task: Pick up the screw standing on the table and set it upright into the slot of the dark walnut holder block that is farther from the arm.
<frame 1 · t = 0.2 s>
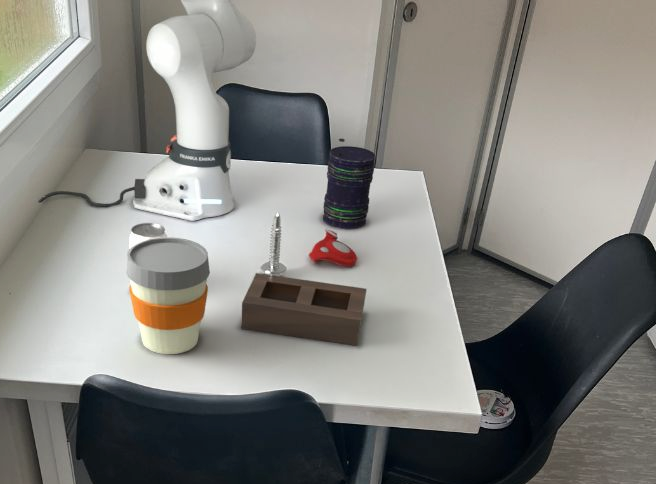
reusable coffee cup: (170, 340, 118), on the table
tracker holder: (333, 257, 147), on the table
dark blue cylinder: (344, 221, 162), on the table
holder: (303, 320, 125), on the table
can: (150, 293, 130), on the table
screw: (273, 279, 137), on the table
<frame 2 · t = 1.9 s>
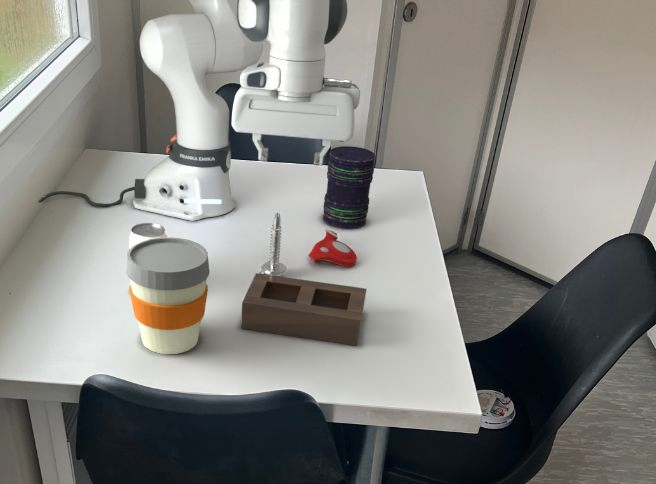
hand: (290, 162, 124), 22 cm above the table, tool pointing down, fingers open, 8 cm apart
nothing on the table moved.
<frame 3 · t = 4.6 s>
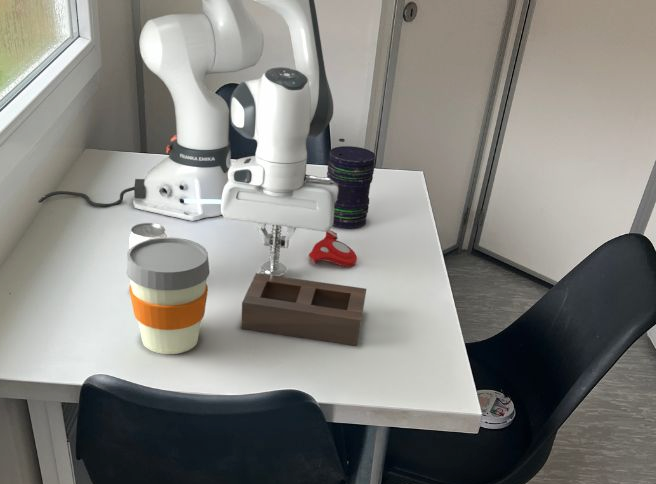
hand: (275, 245, 133), 7 cm above the table, tool pointing down, fingers closed on screw, 2 cm apart
screw: (273, 279, 137), on the table, touching gripper
everything else where it was.
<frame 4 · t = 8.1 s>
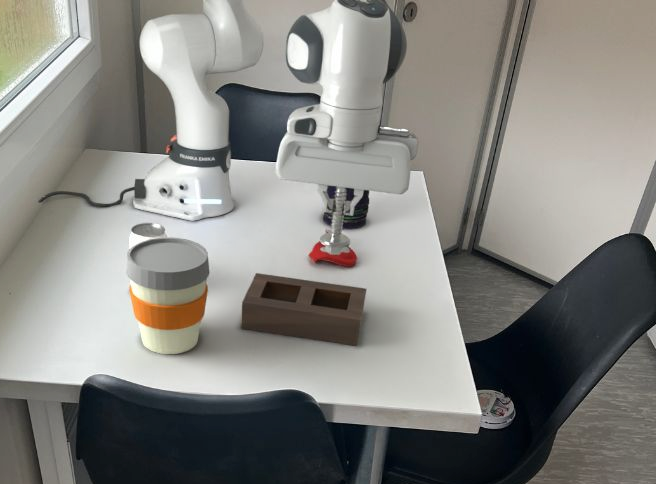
hand: (338, 212, 114), 20 cm above the table, tool pointing down, fingers closed on screw
screw: (333, 252, 117), point 13 cm above the table, touching gripper
everything else where it was.
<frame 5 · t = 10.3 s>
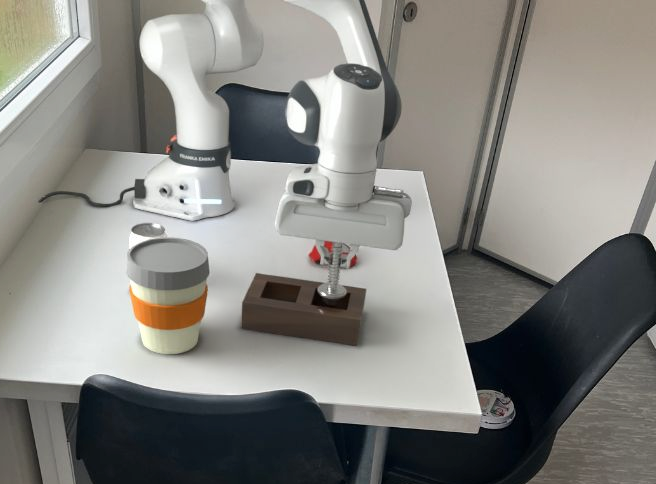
hand: (334, 265, 118), 11 cm above the table, tool pointing down, fingers closed on screw
screw: (330, 302, 122), point 4 cm above the table, touching gripper
everything else where it was.
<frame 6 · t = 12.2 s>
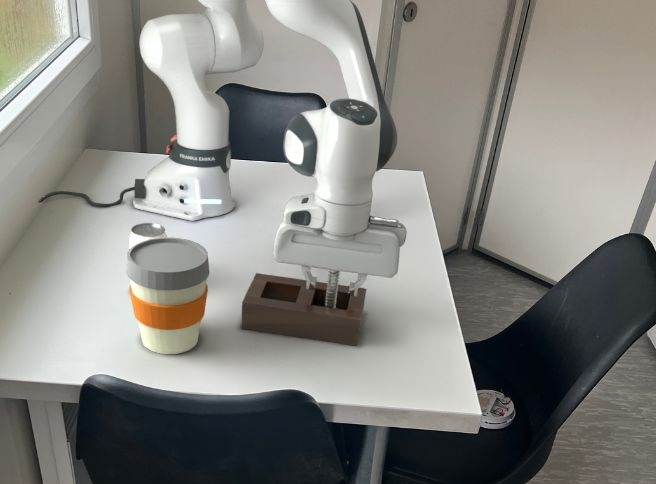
hand: (331, 291, 121), 6 cm above the table, tool pointing down, fingers open, 6 cm apart
screw: (327, 325, 125), resting in holder
everything else where it was.
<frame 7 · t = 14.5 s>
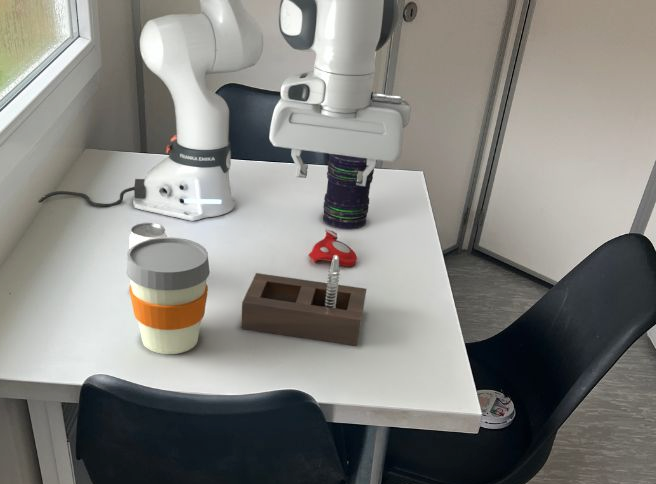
hand: (331, 180, 115), 24 cm above the table, tool pointing down, fingers open, 8 cm apart
nothing on the table moved.
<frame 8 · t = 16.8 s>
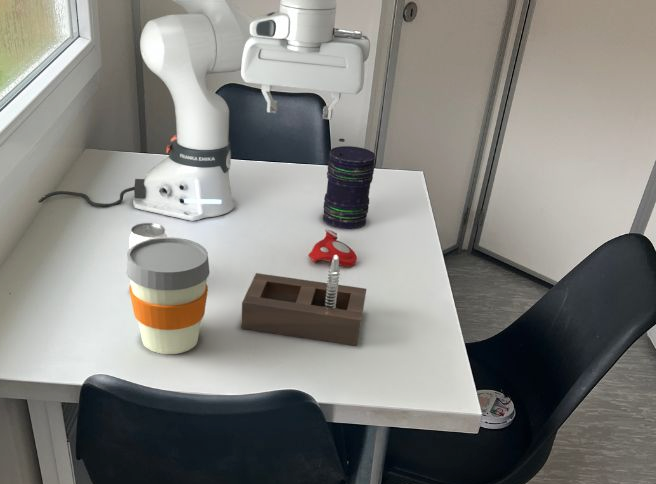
hand: (299, 115, 123), 29 cm above the table, tool pointing down, fingers open, 8 cm apart
nothing on the table moved.
at the end: screw 0.0 cm from the target spot in the holder, point 0.0 cm above the holder's base; screw tilted 0°; the gripper is holding nothing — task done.
